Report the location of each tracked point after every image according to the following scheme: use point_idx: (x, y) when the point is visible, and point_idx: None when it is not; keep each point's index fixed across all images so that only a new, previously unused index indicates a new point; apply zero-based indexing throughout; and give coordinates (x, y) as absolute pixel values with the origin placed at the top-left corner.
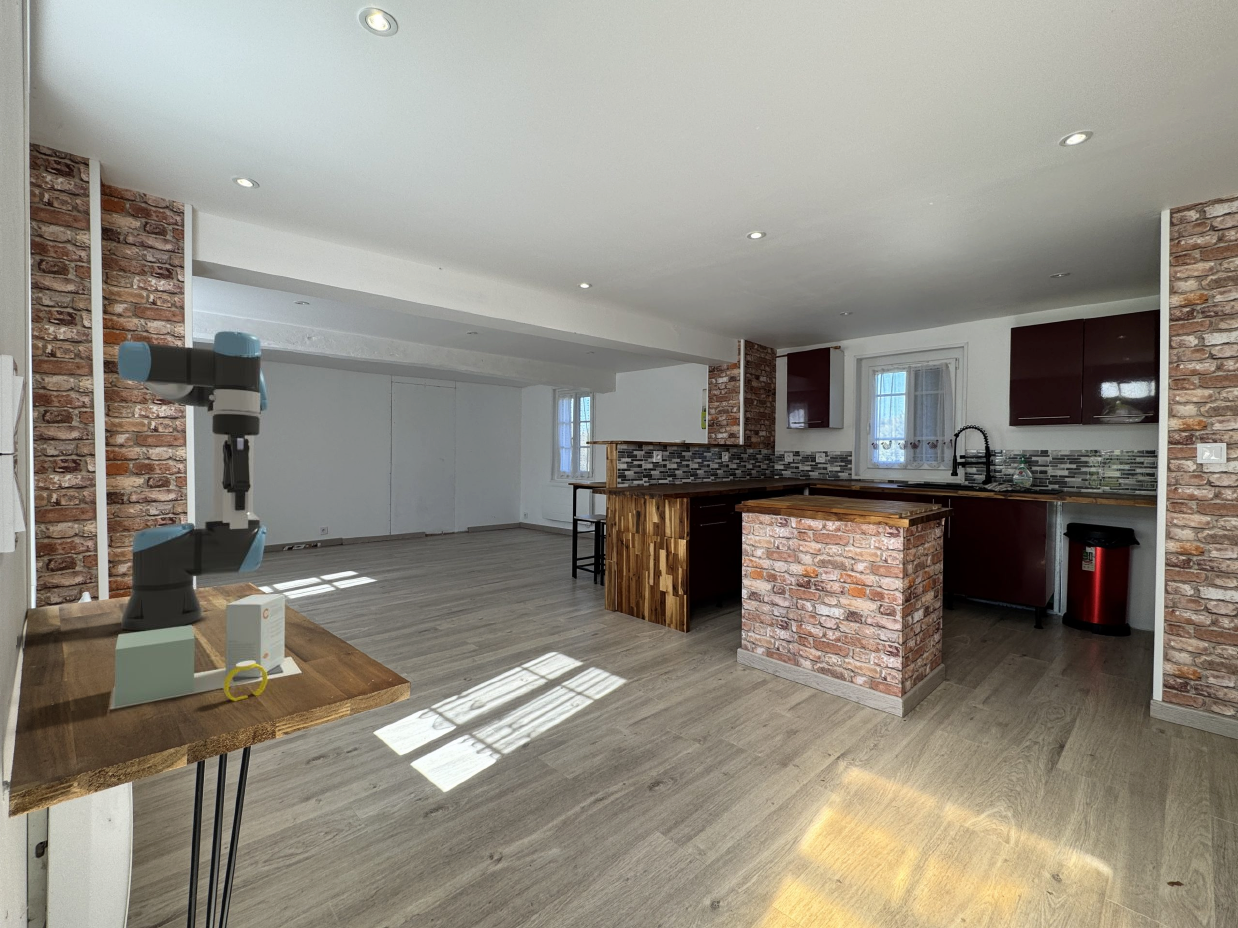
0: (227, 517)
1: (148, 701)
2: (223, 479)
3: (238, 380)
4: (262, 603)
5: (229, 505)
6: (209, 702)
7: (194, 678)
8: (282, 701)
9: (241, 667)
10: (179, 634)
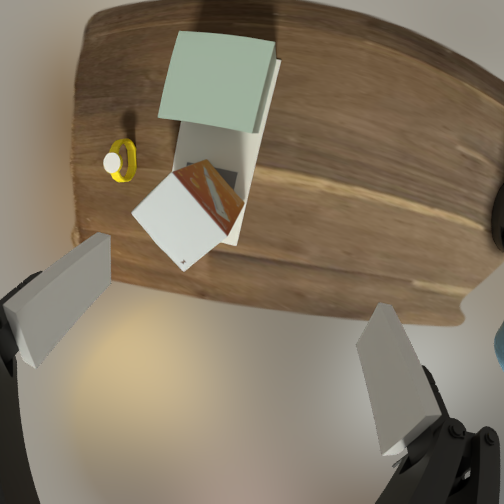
0: (378, 327)
1: None
2: (482, 457)
3: None
4: (137, 219)
5: (388, 369)
6: (146, 127)
7: (238, 132)
8: (103, 182)
9: (105, 156)
10: (197, 104)
